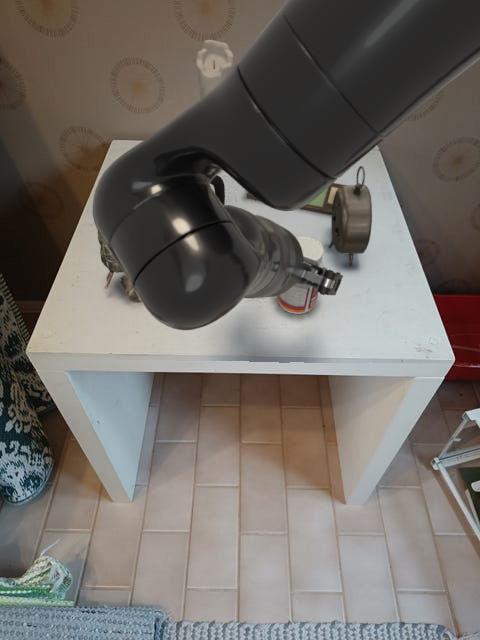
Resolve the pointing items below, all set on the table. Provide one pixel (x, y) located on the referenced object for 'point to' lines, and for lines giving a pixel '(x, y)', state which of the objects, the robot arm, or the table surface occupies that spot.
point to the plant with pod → (115, 269)
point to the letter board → (318, 200)
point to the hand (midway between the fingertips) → (291, 266)
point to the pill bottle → (298, 297)
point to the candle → (213, 65)
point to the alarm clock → (351, 218)
